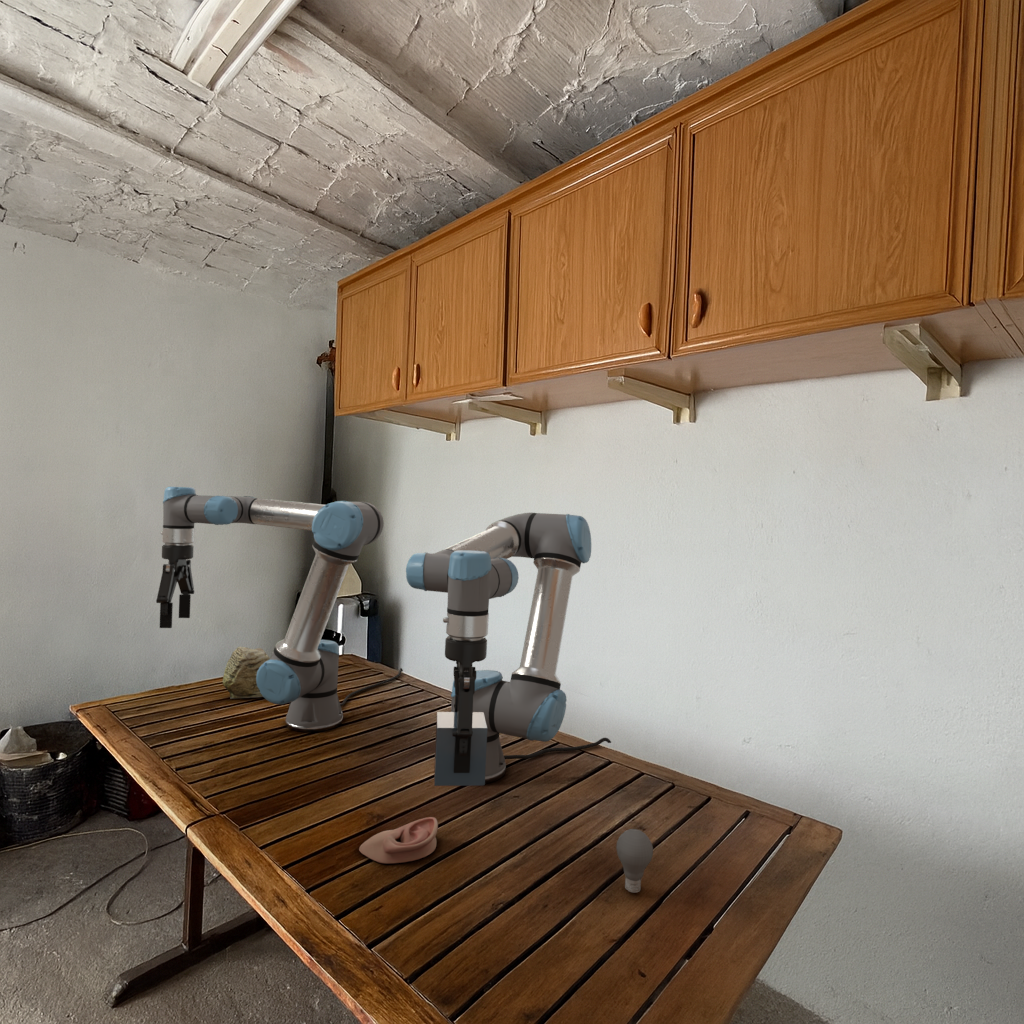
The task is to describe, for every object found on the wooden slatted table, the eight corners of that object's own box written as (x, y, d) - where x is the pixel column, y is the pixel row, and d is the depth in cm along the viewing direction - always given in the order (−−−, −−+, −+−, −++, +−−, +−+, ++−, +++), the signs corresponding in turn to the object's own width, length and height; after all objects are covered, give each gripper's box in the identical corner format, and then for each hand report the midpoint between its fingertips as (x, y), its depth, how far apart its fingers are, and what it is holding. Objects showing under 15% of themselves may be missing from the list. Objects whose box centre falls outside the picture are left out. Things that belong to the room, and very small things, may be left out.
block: (434, 765, 118) (436, 711, 118) (481, 765, 119) (483, 712, 119) (434, 785, 110) (437, 727, 110) (484, 785, 111) (487, 728, 111)
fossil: (218, 695, 195) (220, 647, 195) (278, 685, 208) (279, 640, 207) (228, 703, 189) (230, 653, 188) (289, 692, 201) (290, 645, 201)
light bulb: (610, 879, 108) (613, 822, 108) (644, 879, 109) (647, 822, 109) (619, 902, 102) (622, 840, 102) (655, 901, 103) (658, 840, 103)
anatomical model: (352, 836, 111) (378, 805, 123) (351, 858, 111) (377, 826, 123) (423, 847, 109) (444, 815, 120) (422, 870, 109) (443, 836, 120)
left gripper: (179, 540, 182) (177, 613, 182) (143, 547, 157) (140, 632, 158) (207, 541, 183) (204, 614, 184) (176, 548, 159) (173, 632, 159)
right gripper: (444, 624, 124) (439, 739, 125) (446, 649, 103) (440, 787, 103) (482, 625, 125) (477, 739, 125) (492, 650, 104) (485, 787, 104)
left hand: (175, 622), depth 171 cm, fingers open, 13 cm apart
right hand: (460, 761), depth 114 cm, fingers closed on block, 8 cm apart
